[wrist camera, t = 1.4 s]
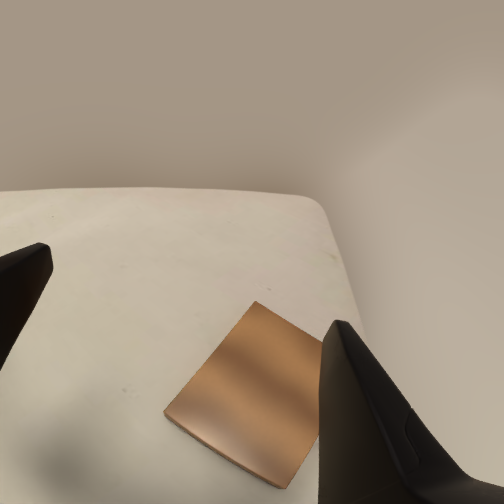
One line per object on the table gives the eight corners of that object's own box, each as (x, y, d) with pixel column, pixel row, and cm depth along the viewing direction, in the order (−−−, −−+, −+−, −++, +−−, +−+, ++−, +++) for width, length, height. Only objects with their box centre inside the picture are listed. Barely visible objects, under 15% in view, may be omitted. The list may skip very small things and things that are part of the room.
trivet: (279, 488, 17) (285, 489, 16) (164, 415, 19) (162, 411, 18) (347, 368, 25) (355, 361, 24) (252, 309, 27) (255, 300, 26)
